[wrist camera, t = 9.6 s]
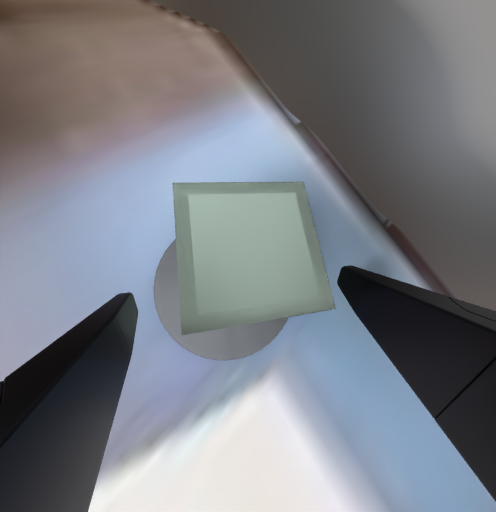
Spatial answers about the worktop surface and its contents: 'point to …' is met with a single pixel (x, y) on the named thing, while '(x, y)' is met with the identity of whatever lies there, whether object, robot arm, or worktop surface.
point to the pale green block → (246, 254)
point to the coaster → (209, 342)
